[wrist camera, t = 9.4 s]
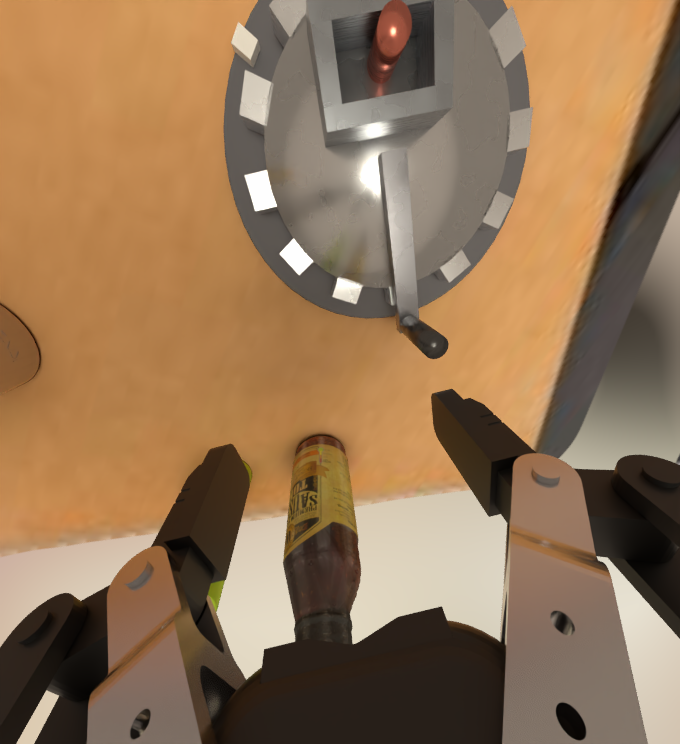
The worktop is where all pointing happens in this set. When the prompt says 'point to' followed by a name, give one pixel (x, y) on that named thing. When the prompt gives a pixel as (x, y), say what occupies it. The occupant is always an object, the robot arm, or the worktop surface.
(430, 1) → the chain link
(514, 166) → the sprocket base
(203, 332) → the worktop surface
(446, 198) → the sprocket
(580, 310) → the worktop surface
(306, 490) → the sauce bottle
